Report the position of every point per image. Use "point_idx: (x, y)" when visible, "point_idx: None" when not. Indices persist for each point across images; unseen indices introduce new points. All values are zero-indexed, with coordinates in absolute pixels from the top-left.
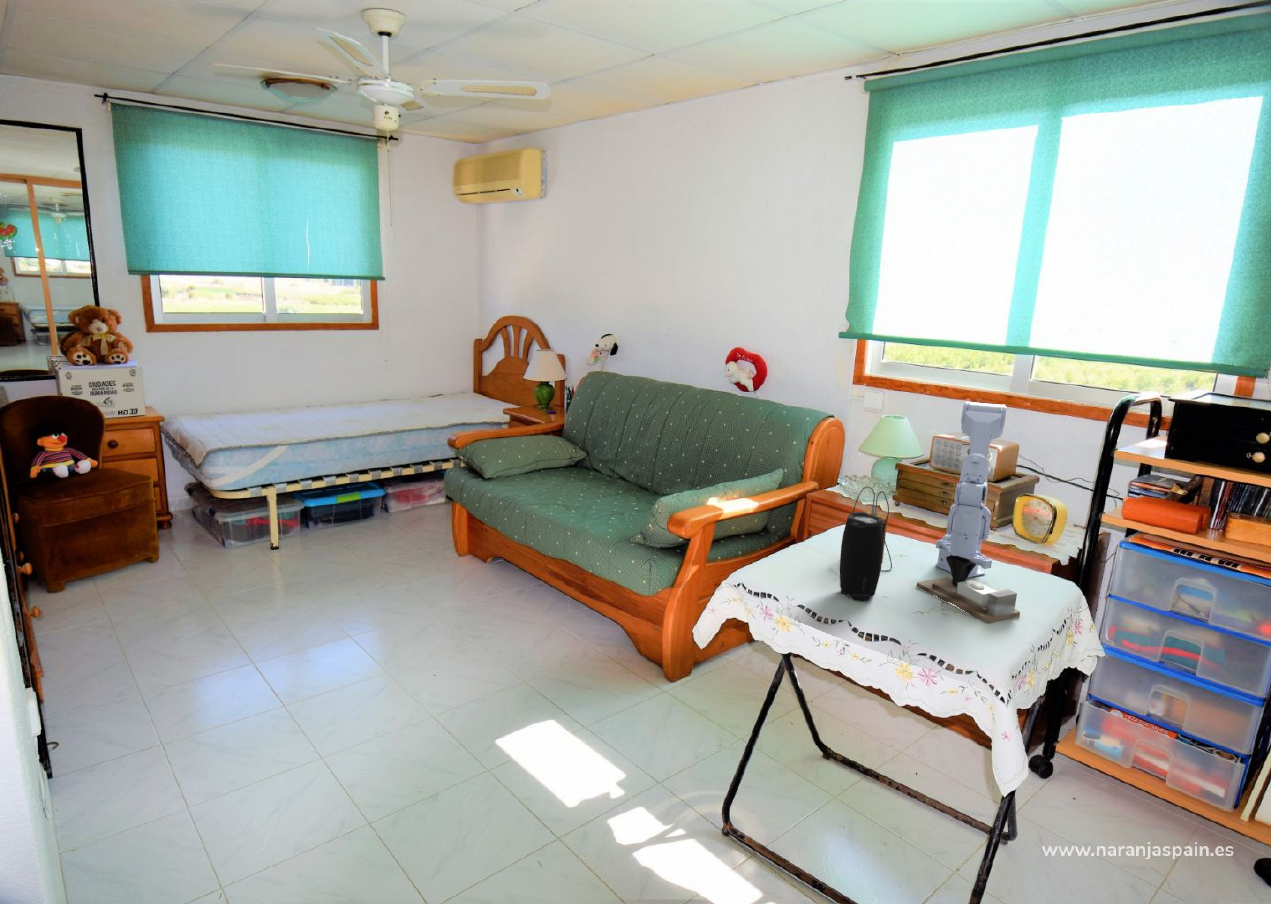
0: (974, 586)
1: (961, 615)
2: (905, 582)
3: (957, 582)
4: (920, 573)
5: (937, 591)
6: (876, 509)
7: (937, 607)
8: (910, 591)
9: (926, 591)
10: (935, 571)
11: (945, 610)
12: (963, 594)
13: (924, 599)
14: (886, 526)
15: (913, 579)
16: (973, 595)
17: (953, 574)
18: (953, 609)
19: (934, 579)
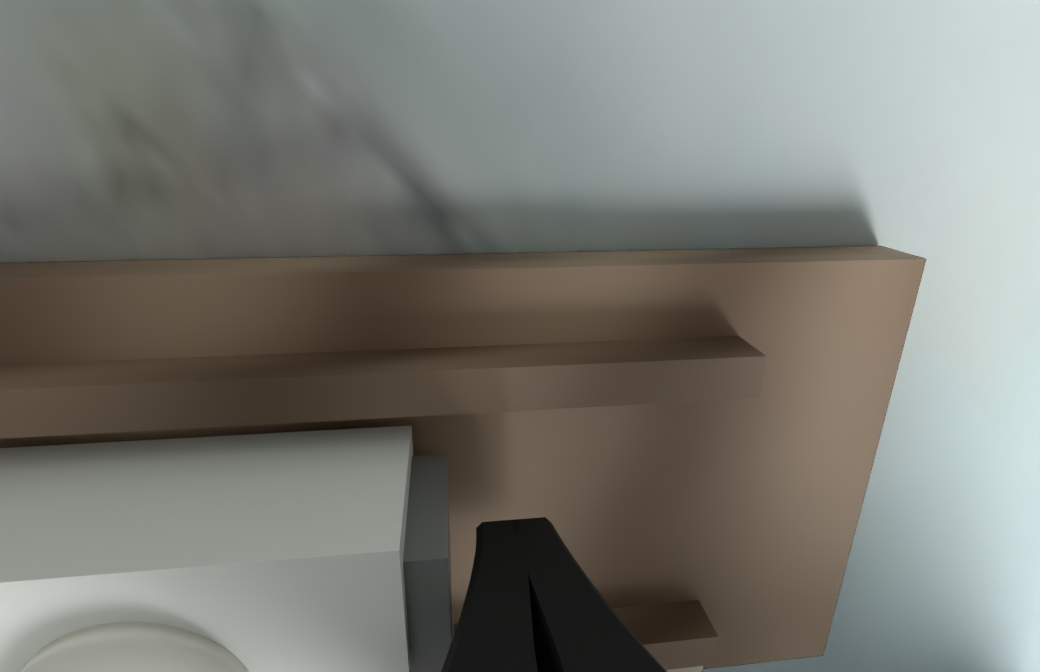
0: (102, 669)
1: (12, 138)
2: (1020, 220)
3: (448, 558)
4: (1029, 521)
5: (613, 299)
6: None
7: (326, 10)
8: (844, 67)
9: (734, 250)
10: (967, 655)
11: (209, 44)
12: (285, 462)
13: (594, 47)
14: None
15: (1003, 364)
16: (64, 512)
17: (581, 639)
18: (215, 184)
19: (854, 506)
